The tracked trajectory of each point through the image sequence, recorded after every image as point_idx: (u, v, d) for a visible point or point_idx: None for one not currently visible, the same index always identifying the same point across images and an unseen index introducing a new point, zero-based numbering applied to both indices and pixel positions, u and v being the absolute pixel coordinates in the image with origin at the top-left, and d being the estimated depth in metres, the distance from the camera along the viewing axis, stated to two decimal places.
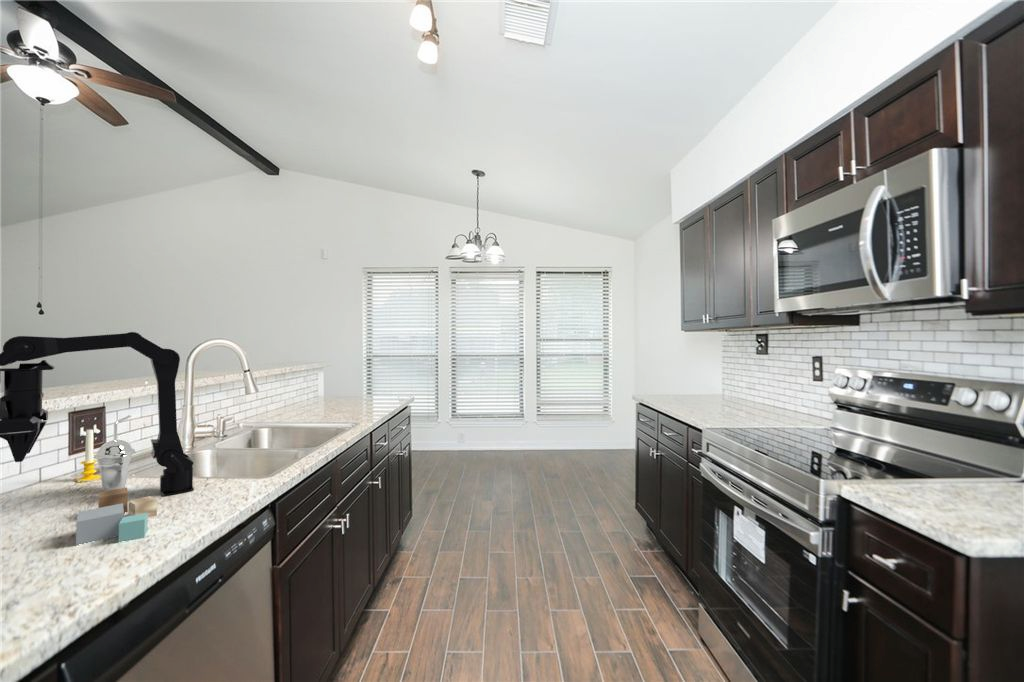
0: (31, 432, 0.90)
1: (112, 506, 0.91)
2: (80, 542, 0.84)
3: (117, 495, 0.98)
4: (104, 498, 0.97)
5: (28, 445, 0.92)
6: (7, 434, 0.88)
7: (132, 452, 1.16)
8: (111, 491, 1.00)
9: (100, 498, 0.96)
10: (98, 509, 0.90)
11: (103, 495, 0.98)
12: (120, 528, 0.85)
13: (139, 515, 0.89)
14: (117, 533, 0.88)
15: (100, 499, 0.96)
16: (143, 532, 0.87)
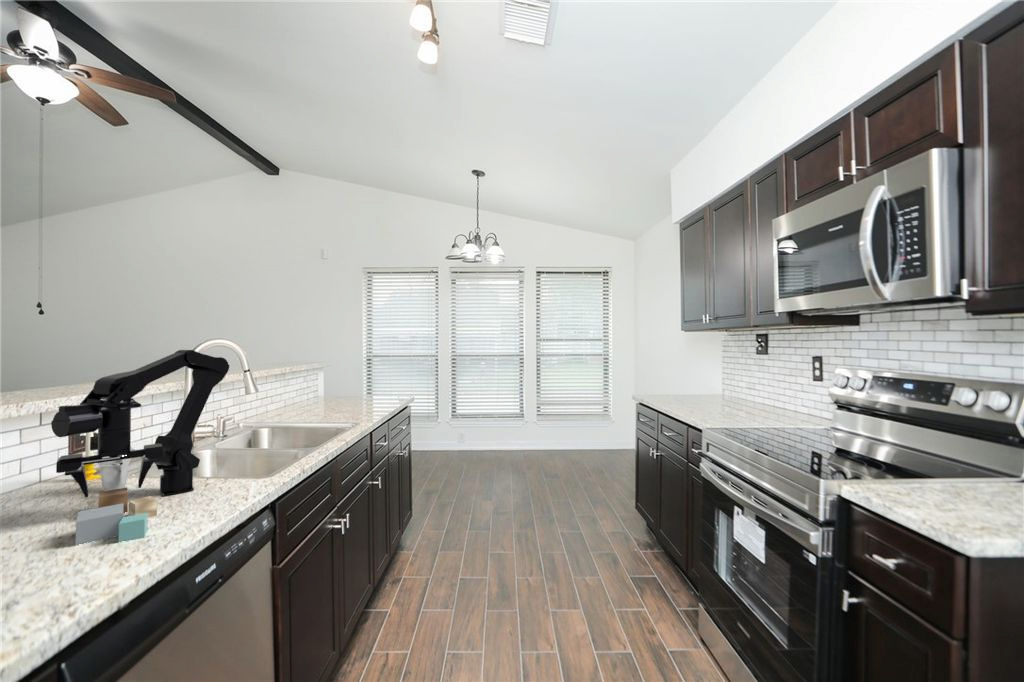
0: (65, 473, 0.93)
1: (113, 506, 0.91)
2: (80, 542, 0.84)
3: (117, 495, 0.98)
4: (104, 498, 0.97)
5: None
6: None
7: None
8: (111, 491, 1.00)
9: (100, 498, 0.96)
10: (98, 509, 0.90)
11: (103, 495, 0.98)
12: (120, 528, 0.85)
13: (139, 515, 0.89)
14: (117, 533, 0.87)
15: (100, 499, 0.96)
16: (143, 532, 0.87)
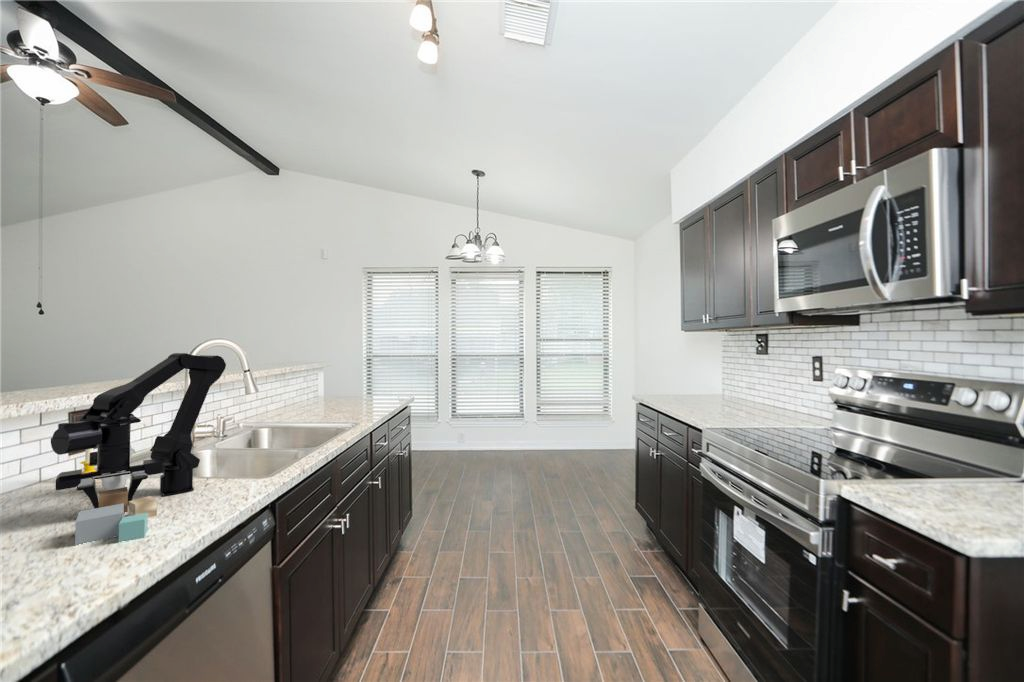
0: (76, 488, 0.94)
1: (113, 506, 0.91)
2: (79, 542, 0.84)
3: (117, 494, 0.98)
4: (104, 498, 0.97)
5: (90, 499, 0.96)
6: None
7: (132, 452, 1.16)
8: (111, 491, 1.00)
9: (100, 498, 0.96)
10: (99, 509, 0.90)
11: (103, 495, 0.98)
12: (120, 528, 0.85)
13: (139, 515, 0.89)
14: (116, 533, 0.87)
15: (100, 499, 0.96)
16: (143, 532, 0.87)
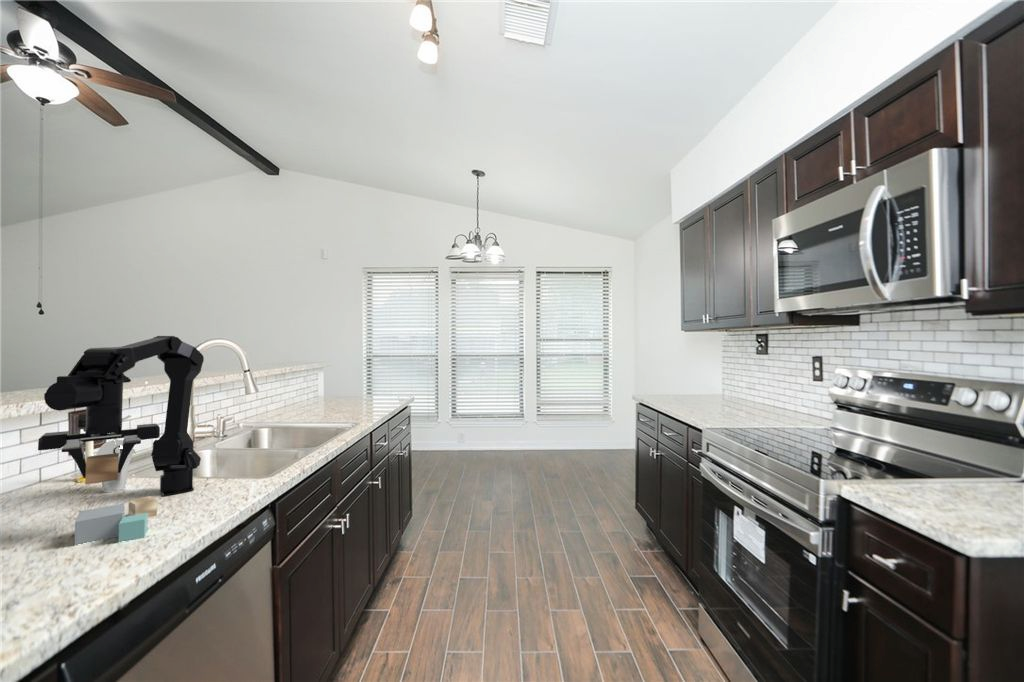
0: None
1: (113, 506, 0.91)
2: (79, 542, 0.84)
3: (107, 459, 0.90)
4: (92, 462, 0.88)
5: None
6: None
7: (132, 452, 1.16)
8: (101, 456, 0.91)
9: (88, 461, 0.88)
10: (99, 509, 0.90)
11: (91, 459, 0.89)
12: (120, 528, 0.85)
13: (139, 515, 0.89)
14: (116, 534, 0.87)
15: (88, 463, 0.88)
16: (143, 532, 0.87)
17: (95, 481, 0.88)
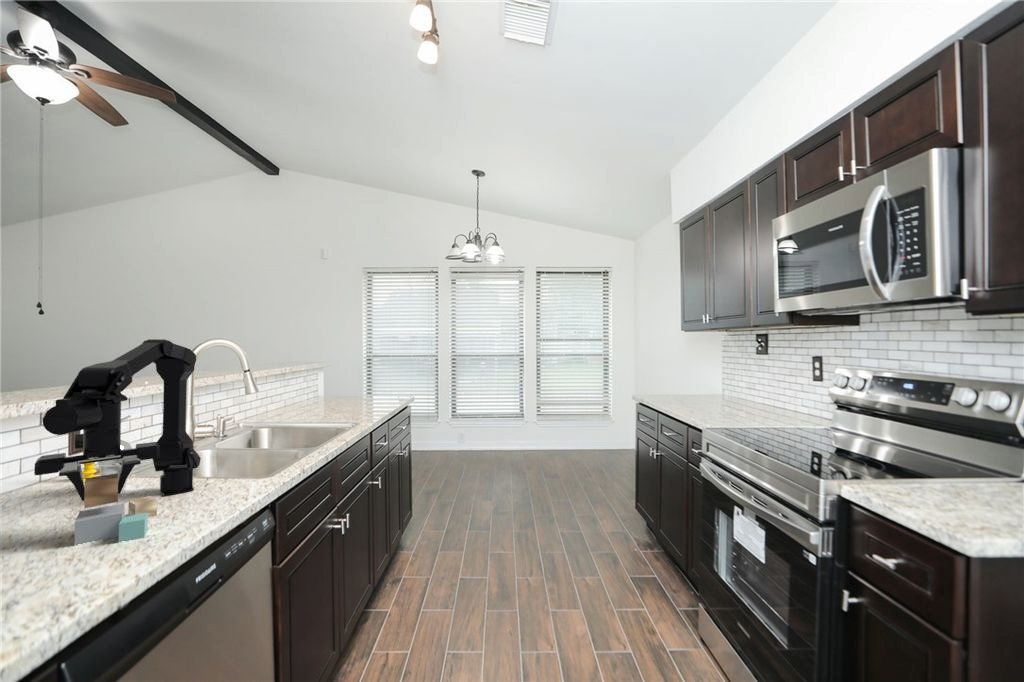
0: (59, 473, 0.83)
1: (113, 506, 0.91)
2: (78, 542, 0.84)
3: (106, 481, 0.87)
4: (91, 485, 0.86)
5: None
6: None
7: None
8: (99, 477, 0.89)
9: (86, 484, 0.85)
10: (99, 509, 0.90)
11: (90, 481, 0.86)
12: (120, 528, 0.85)
13: (139, 515, 0.89)
14: (115, 534, 0.87)
15: (86, 486, 0.85)
16: (143, 532, 0.87)
17: (94, 504, 0.86)
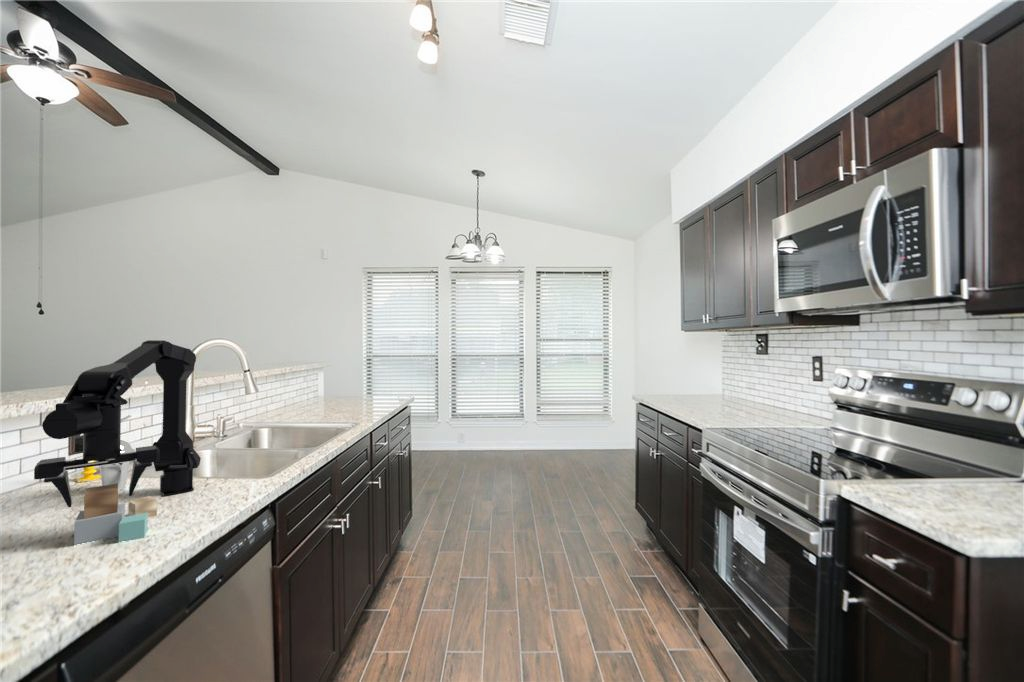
0: (44, 480, 0.81)
1: None
2: (78, 542, 0.84)
3: (106, 492, 0.87)
4: (91, 495, 0.86)
5: (60, 492, 0.83)
6: None
7: None
8: (99, 487, 0.89)
9: (86, 495, 0.85)
10: None
11: (90, 492, 0.86)
12: (120, 528, 0.85)
13: (139, 515, 0.89)
14: (115, 534, 0.87)
15: (86, 496, 0.85)
16: (143, 532, 0.87)
17: (94, 515, 0.86)
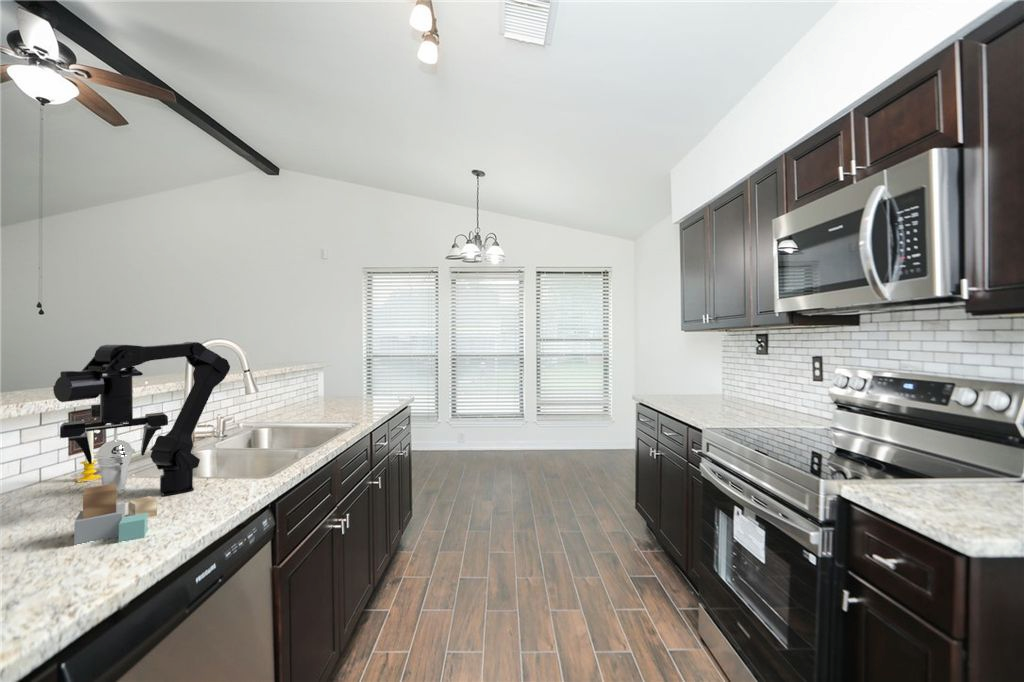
0: None
1: None
2: (78, 542, 0.84)
3: (105, 492, 0.87)
4: (89, 495, 0.85)
5: None
6: None
7: (132, 452, 1.16)
8: (98, 487, 0.89)
9: (85, 495, 0.85)
10: None
11: (88, 492, 0.86)
12: (120, 528, 0.85)
13: (139, 515, 0.89)
14: (115, 534, 0.87)
15: (85, 496, 0.85)
16: (143, 532, 0.87)
17: (93, 515, 0.86)
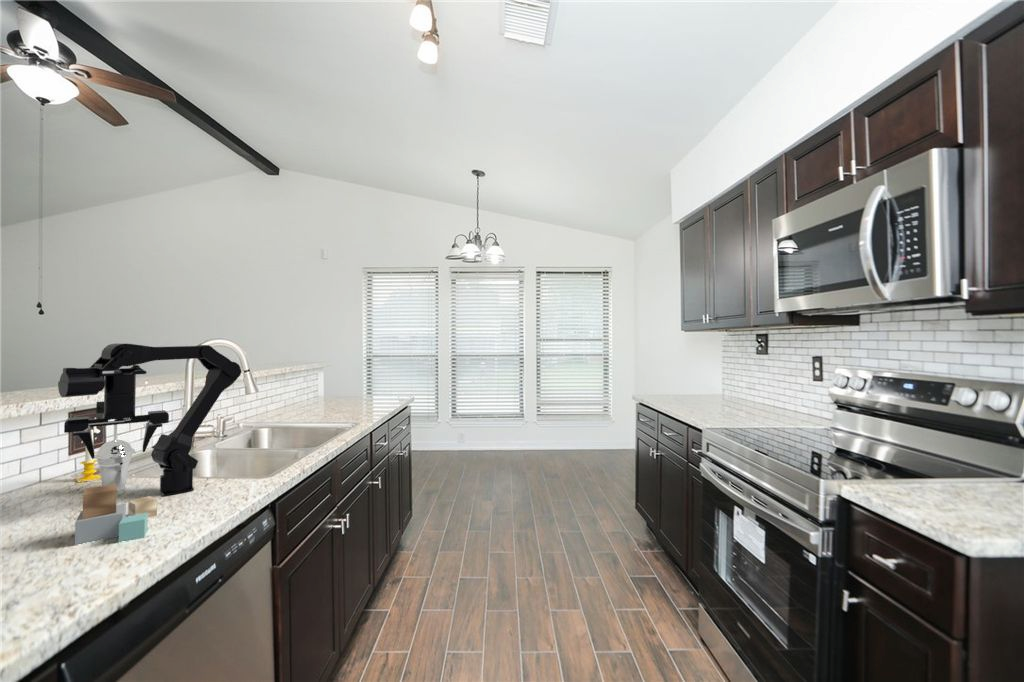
0: (72, 434, 0.96)
1: None
2: (79, 542, 0.84)
3: (105, 492, 0.87)
4: (89, 496, 0.85)
5: None
6: None
7: (132, 452, 1.16)
8: (98, 488, 0.89)
9: (85, 496, 0.85)
10: None
11: (88, 492, 0.86)
12: (120, 528, 0.85)
13: (139, 515, 0.89)
14: (116, 534, 0.87)
15: (85, 497, 0.85)
16: (143, 532, 0.87)
17: (93, 515, 0.86)
